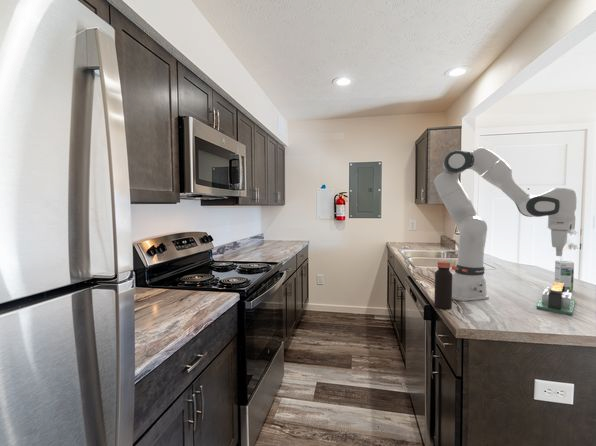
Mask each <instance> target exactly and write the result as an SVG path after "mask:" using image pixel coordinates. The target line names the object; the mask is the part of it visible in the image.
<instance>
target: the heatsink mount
mask: <svg viewBox="0 0 596 446" xmlns="http://www.w3.org/2000/svg"><path fill="white" fill-rule="evenodd" d="M549 289H550V287H549V286H547V287H546V288H544V289H543V291H542V293H541V298H540V299H539V301H538V303H537V305H536V309H537V310H542V311H547V312H553V313H558V314H563V315H567V316H573V312H574V308H575V303H576V299H575V298H572V295H573V293H572V292H570V290H565V285H564V286H563V289H562V294H555V293H551V292H549Z"/></svg>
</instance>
